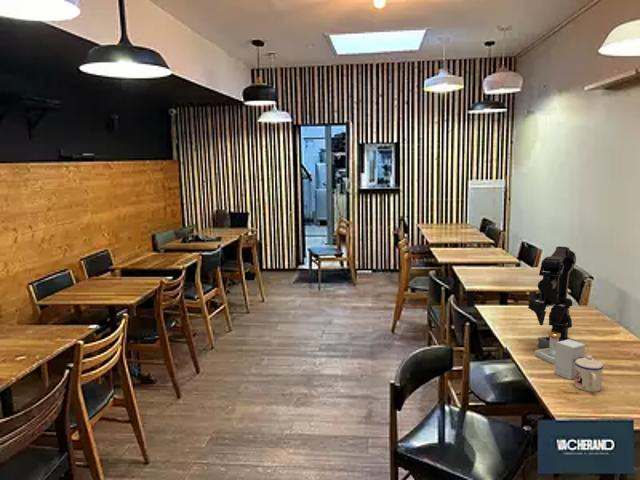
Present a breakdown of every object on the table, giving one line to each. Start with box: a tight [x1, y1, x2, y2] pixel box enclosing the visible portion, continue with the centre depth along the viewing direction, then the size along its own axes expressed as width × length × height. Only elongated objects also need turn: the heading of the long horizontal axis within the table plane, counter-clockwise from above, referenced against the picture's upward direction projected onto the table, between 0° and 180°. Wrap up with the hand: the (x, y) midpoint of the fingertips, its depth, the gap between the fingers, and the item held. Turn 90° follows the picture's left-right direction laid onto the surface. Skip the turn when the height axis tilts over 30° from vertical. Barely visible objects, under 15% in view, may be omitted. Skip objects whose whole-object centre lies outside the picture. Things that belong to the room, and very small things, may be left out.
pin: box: [547, 331, 561, 358], centre depth 210 cm, size 5×5×10 cm
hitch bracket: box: [537, 335, 564, 349], centre depth 222 cm, size 8×8×4 cm
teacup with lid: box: [573, 354, 604, 393], centre depth 182 cm, size 12×9×12 cm
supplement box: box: [553, 339, 586, 381], centre depth 194 cm, size 7×7×13 cm
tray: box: [534, 348, 555, 366], centre depth 211 cm, size 10×10×2 cm
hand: (549, 323), depth 217 cm, fingers open, 9 cm apart
